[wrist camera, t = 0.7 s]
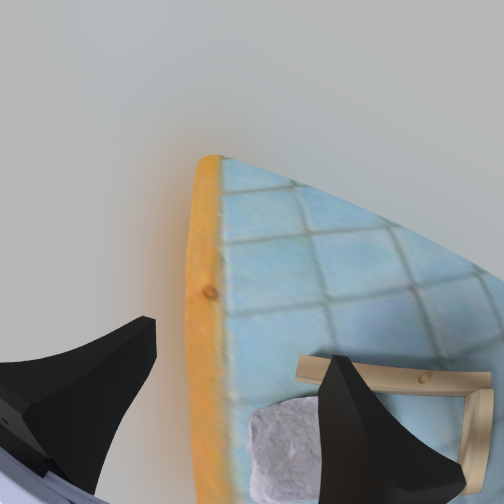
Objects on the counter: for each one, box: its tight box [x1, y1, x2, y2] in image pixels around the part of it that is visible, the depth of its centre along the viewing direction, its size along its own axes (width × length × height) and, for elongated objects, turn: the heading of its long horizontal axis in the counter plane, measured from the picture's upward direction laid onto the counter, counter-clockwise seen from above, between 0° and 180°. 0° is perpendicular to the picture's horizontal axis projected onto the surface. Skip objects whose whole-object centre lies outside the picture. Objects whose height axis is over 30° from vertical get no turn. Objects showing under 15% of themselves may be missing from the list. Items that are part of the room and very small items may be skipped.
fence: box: [295, 354, 494, 495], centre depth 19 cm, size 13×21×4 cm, turn 75°
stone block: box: [247, 396, 322, 504], centre depth 20 cm, size 12×5×10 cm
